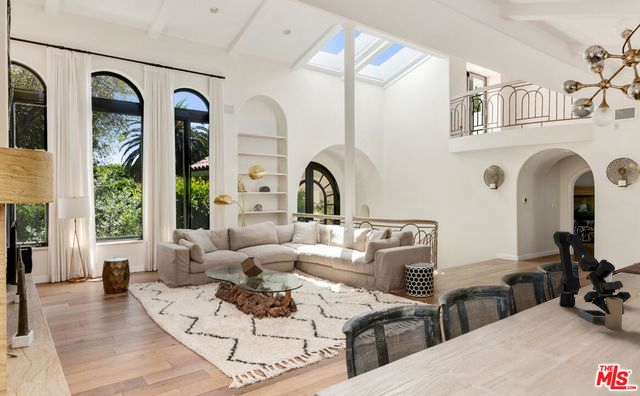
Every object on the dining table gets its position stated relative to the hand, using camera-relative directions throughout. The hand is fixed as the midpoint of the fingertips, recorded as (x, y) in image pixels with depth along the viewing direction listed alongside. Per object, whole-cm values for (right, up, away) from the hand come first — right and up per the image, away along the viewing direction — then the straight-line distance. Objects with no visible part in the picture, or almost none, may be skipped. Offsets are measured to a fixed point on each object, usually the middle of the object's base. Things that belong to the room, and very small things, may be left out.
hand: (616, 314), depth 181 cm
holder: (-1, -6, +13) cm, 14 cm away
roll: (0, -7, +2) cm, 7 cm away
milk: (+28, -6, +48) cm, 56 cm away
